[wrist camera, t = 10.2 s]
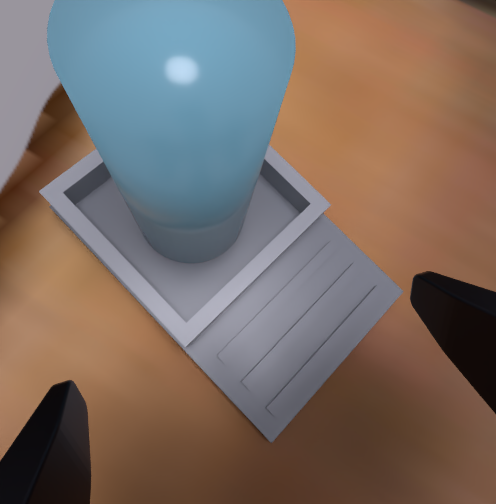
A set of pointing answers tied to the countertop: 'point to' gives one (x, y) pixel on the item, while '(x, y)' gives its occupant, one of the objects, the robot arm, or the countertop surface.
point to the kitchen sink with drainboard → (243, 287)
